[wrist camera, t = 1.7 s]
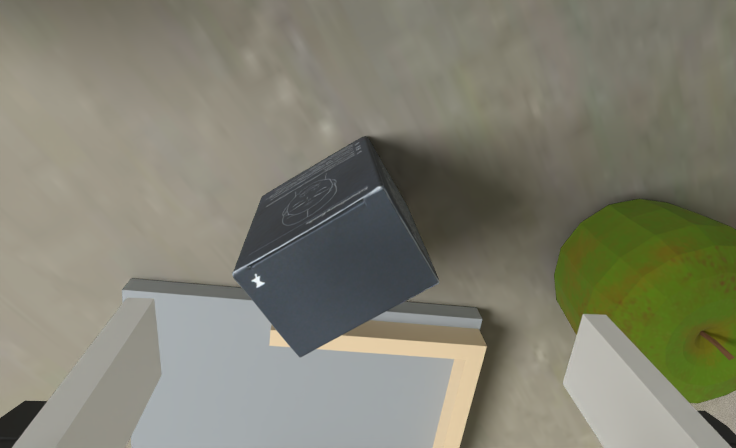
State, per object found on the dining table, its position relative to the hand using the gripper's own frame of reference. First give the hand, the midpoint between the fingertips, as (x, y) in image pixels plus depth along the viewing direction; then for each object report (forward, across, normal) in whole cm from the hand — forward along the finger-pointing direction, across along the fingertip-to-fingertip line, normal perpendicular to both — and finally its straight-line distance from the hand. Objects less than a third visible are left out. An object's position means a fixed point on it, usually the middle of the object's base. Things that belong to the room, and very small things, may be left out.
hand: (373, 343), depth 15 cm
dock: (+17, -3, -16) cm, 24 cm away
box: (+17, -1, -1) cm, 17 cm away
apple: (+17, +19, -5) cm, 26 cm away
